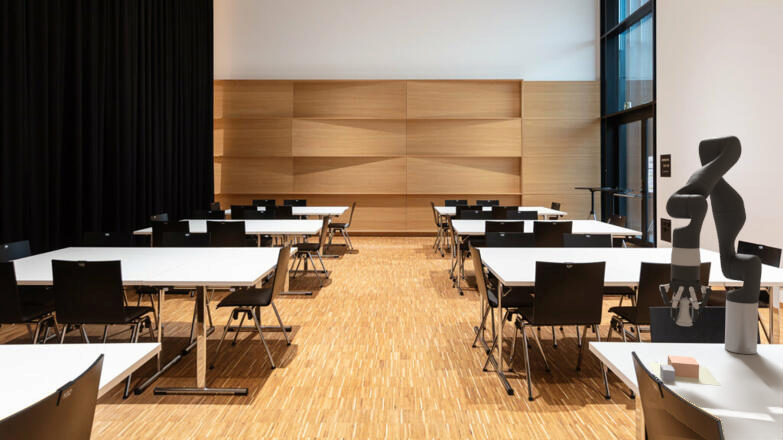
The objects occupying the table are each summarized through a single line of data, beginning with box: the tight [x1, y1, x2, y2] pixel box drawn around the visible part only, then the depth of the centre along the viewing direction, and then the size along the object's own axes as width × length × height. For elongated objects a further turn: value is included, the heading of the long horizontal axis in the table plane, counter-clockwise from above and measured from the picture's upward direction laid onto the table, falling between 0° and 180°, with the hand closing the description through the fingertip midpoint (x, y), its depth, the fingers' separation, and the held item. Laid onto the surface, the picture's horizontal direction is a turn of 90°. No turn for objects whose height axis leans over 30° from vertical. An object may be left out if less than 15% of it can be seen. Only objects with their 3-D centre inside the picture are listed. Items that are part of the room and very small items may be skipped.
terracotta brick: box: [667, 354, 700, 378], centre depth 158 cm, size 7×7×4 cm
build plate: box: [648, 362, 722, 387], centre depth 158 cm, size 16×16×1 cm
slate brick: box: [660, 364, 675, 382], centre depth 154 cm, size 5×3×3 cm, turn 162°
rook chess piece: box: [675, 297, 694, 327], centre depth 157 cm, size 4×4×8 cm
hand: (684, 320), depth 157 cm, fingers closed on rook chess piece, 4 cm apart
